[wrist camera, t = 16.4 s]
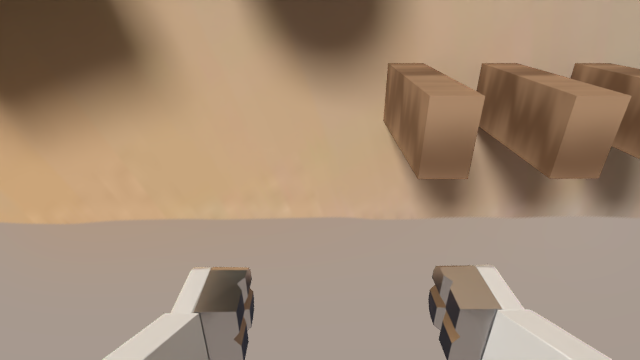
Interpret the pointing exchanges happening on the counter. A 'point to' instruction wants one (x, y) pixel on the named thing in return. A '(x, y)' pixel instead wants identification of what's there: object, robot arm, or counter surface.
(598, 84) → the domino
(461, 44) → the counter surface
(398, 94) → the domino
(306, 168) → the counter surface
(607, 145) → the domino
